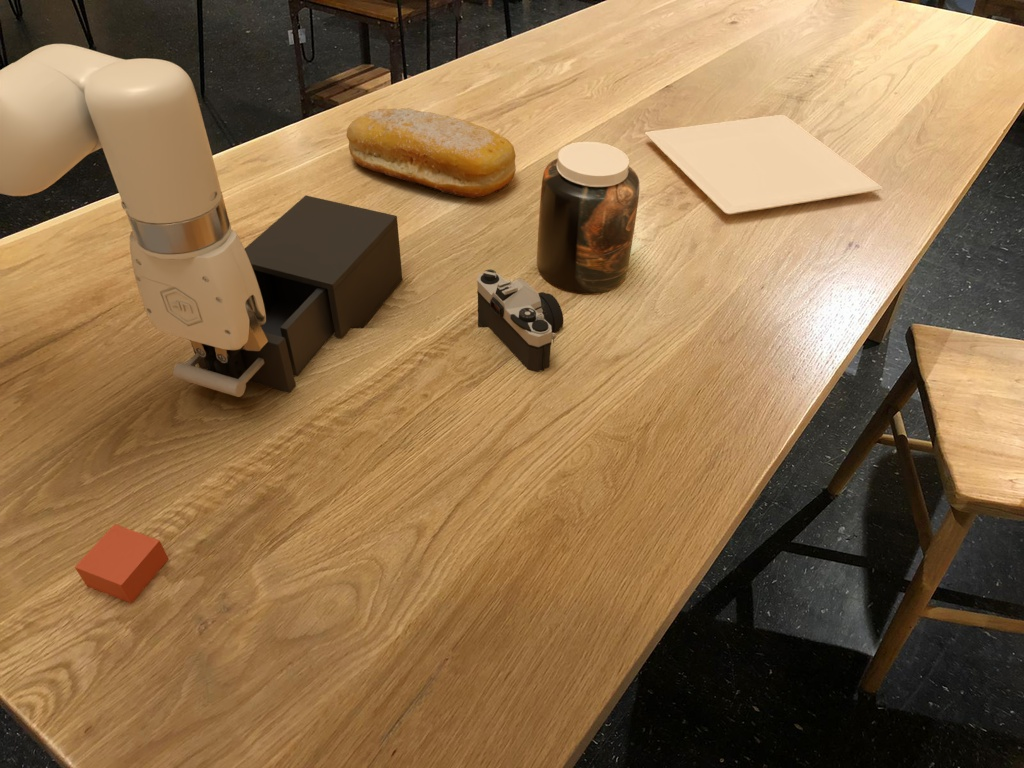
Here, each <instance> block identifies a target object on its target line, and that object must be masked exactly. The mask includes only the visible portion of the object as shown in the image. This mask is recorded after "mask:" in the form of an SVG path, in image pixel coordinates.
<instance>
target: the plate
mask: <svg viewBox="0 0 1024 768" xmlns="http://www.w3.org/2000/svg"><path fill="white" fill-rule="evenodd" d="M644 134H645V136H646V137H647V138H648V139H649V140H650V141H651V142H652V143H653V144H654V145H655V146H656V147H657V148H658V149H659V150H660V151H661V152H662V153H663V154H664V155H665V156H666V157H667V158H668V159H669V160H670V161H671V162H672V163H673V164H674V165H675V166H677V168H678V169H679V170H680V171H682V173H683V174H685V176H686V177H687V178H689V180H691V182H692V183H693V184H694V185H695V186H697V188H699V189H700V191H702V192H703V194H705V195H706V196H707V198H708V199H710V200H711V201H712V202H713V203H714V204H715V206H717V207H718V208H719V209H720V210H721V211H722V212H723V214H726V215H728V216H730V215H731V216H732V215H738V214H742V213H743V214H744V213H749V212H755V211H761V210H767V209H774V208H778V207H786V206H792V205H793V206H794V205H797V204H805V203H810V202H816V201H823V200H824V201H825V200H829V199H835V198H841V197H847V196H853V195H860V194H866V193H872V192H878V191H881V190H882V189H883V186H882V185H880V184H879V183H877V182H876V181H875V180H873V179H872V178H871V177H869V176H868V175H866V174H865V173H864V172H863V171H861V170H860V169H858V168H857V167H856V166H855V165H854V164H852V163H850V162H849V161H848V160H846V159H845V158H844V157H842V156H841V155H840V154H838V153H837V152H836V151H834V150H833V149H831V148H830V147H829V146H827V145H826V144H825V143H823V142H822V141H820V139H818V138H816V137H815V136H814V135H813V134H811V133H810V132H809V131H807V130H806V129H805V128H803V127H801V126H800V125H799V124H798V123H796V122H795V121H793V120H792V119H791V118H789V116H787V115H785V114H774V115H767V116H759V117H752V118H743V119H736V120H735V119H734V120H728V121H720V122H713V123H703V124H695V125H688V126H681V127H673V128H665V129H657V130H650V131H645V132H644Z"/></svg>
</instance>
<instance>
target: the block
mask: <svg viewBox="0 0 1024 768" xmlns="http://www.w3.org/2000/svg"><path fill="white" fill-rule="evenodd" d="M167 561H169V557H168V555H167V552H166V551H165V549H164V546H163V545H162V543H161V540H160V539H156V538H154V537H151V536H149V535H146V534H143V533H140V532H138V531H135V530H132V529H130V528H127V527H125V526H122V525H119V524H116V523H115V524H113V525H112V526H111V527H110V528H109V529H108V531H107V532H106V533H105V534H104V535H103V536H102V537H101V538H100V539H99V540H98V542H96V544H94V546H93V547H92V548H91V549H90V550H89V551H88V552H87V553H86V554H85V555H84V556H83V557H82V559H81V560H80V561H79V562H78V563H77V564H76V565H75V566H74V569H75V571H76V572H77V573H78V575H79V576H80V578H81V579H82V581H83V582H84V584H85V586H86V587H89V588H91V589H94V590H96V591H99V592H102V593H103V594H106V595H109V596H111V597H114V598H117V599H119V600H121V601H124V602H127V603H128V604H133V603H134V602H135V600H136V599H137V598H138V597H139V596H140V595H141V593H142V592H143V591H144V589H145V588H146V587H147V586H148V585H149V583H151V581H152V580H153V579H154V577H155V576H157V574H158V573H159V571H160V570H161V569H162V568H163V567H164V565H166V563H167Z"/></svg>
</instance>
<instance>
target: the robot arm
mask: <svg viewBox="0 0 1024 768" xmlns="http://www.w3.org/2000/svg"><path fill="white" fill-rule="evenodd" d="M100 149H102V151H103V153H104V156H105V159H106V161H107V164H108V167H109V170H110V172H111V175H112V178H113V180H114V183H115V186H116V189H117V191H118V194H119V197H120V200H121V201H120V202H121V204H120V205H121V208H122V209H123V210H124V212H125V214H126V217H127V219H128V222H129V225H130V228H131V232H130V234H129V253H130V260H131V264H132V271H133V274H134V279H135V283H136V286H137V289H138V292H139V293H138V294H139V296H140V299H141V302H142V306H143V308H144V311H145V315H146V316H147V318H148V320H149V322H150V324H151V326H152V327H154V329H157V330H158V331H160V332H162V333H166V334H167V335H171V336H175V337H178V338H182V339H185V340H188V341H190V344H191V343H192V344H191V346H192V345H193V347H192V349H193V348H194V350H195V352H196V353H197V354H198V355H199V356H201V357H205V359H204V361H205V364H206V367H207V369H206V370H209V371H212V372H215V373H219V374H222V375H226V376H229V377H232V378H236V379H239V378H240V377H241V376H242V375H243V374H244V372H245V371H246V369H245V366H244V362H243V359H242V355H241V352H240V351H241V350H242V349H245V350H246V351H260V350H261V349H262V348H263V347H264V346H265V345H266V344H267V343H268V340H267V338H266V336H265V334H264V332H263V330H262V328H261V326H260V325H263V324H265V322H266V314H265V308H264V303H263V299H262V296H261V292H260V288H259V285H258V282H257V279H256V276H255V274H254V271H253V268H252V266H251V263H250V261H249V258H248V256H247V254H246V251H245V246H244V245H243V243H242V240H241V239H240V237H239V235H238V232H236V231H235V230H233V229H232V225H231V222H230V219H229V214H228V210H227V207H226V203H225V199H224V195H223V191H222V188H221V184H220V180H219V177H218V172H217V169H216V165H215V160H214V157H213V153H212V149H211V146H210V141H209V137H208V134H207V129H206V127H205V122H204V118H203V115H202V111H201V107H200V103H199V100H198V95H197V92H196V88H195V85H194V83H193V81H192V78H191V77H190V76H189V74H188V73H187V71H185V70H184V69H183V68H182V67H181V66H179V65H177V64H176V63H174V62H172V61H168V60H164V59H158V58H144V57H143V58H131V59H124V58H121V57H116V56H113V55H109V54H106V53H102V52H99V51H96V50H93V49H91V48H90V49H89V48H86V47H84V46H83V47H82V46H78V45H74V44H68V43H52V44H46V45H44V46H39V47H38V48H36V49H34V50H33V51H31V52H29V53H28V54H26V55H24V56H23V57H20V59H18V60H16V61H14V62H12V63H10V64H9V65H7V66H5V67H3V68H2V69H0V194H1V195H6V196H11V197H27V196H31V195H35V194H38V193H40V192H43V191H44V190H46V189H48V188H49V187H51V186H52V185H53V184H55V183H56V182H57V181H59V180H60V179H61V178H62V177H63V176H64V175H66V174H67V173H68V172H69V171H71V170H72V169H73V168H74V167H75V166H76V165H77V164H79V163H80V162H81V161H82V160H83V159H85V158H86V157H87V156H88V155H90V154H92V153H94V152H96V151H98V150H100ZM194 350H193V351H194Z"/></svg>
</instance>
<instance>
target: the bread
mask: <svg viewBox="0 0 1024 768" xmlns="http://www.w3.org/2000/svg"><path fill="white" fill-rule="evenodd" d="M346 138H347V140H348V150H349V154H350V156H351V157H352V159H353V160H354V162H355V163H356V164H357V165H359V166H360V167H362V168H365V169H368V170H370V171H373V172H375V173H379V174H385V175H386V176H389V177H393V178H395V179H396V178H397V179H400V180H401V181H402V180H403V181H405V182H409V183H411V184H413V185H416V186H419V187H421V188H425V189H429V190H433V191H438V192H441V193H446V194H449V195H453V196H455V197H461V198H467V199H478V198H482V197H486V196H490V195H493V194H495V193H498V192H500V191H502V190H503V189H505V188H506V187H508V185H509V183H510V182H511V181H512V180H513V179H514V177H515V174H516V171H517V168H516V167H517V166H516V151H515V148H514V145H513V144H512V143H511V141H510V140H509V139H508V138H506V137H504V136H503V135H500V134H499V133H497V132H495V131H493V130H491V129H489V128H485V127H484V126H481V125H477V124H475V123H473V122H469V121H468V120H467V121H466V120H464V119H460V118H457V117H453V116H448V115H442V114H438V113H436V112H435V113H434V112H429V111H421V110H417V109H412V108H410V107H408V108H403V107H402V108H379V109H375V110H371V111H368V112H366V113H364V114H362V115H360V116H359V117H357V118H355V119H354V120H353V121H352V122H350V123H349V125H348V127H347V129H346Z"/></svg>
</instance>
